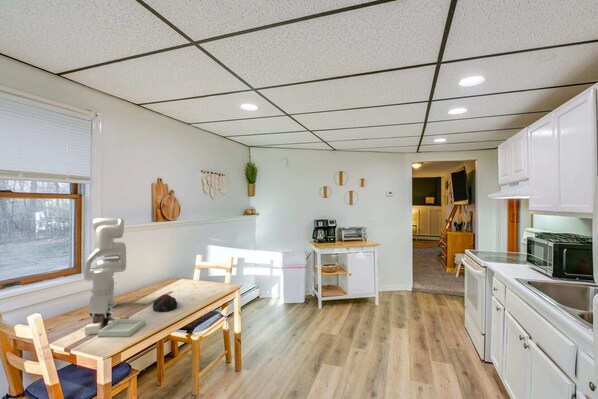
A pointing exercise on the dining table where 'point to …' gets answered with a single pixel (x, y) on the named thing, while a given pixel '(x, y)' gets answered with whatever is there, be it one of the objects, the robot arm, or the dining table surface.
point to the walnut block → (98, 319)
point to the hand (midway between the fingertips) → (100, 324)
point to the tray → (121, 327)
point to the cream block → (92, 328)
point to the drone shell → (164, 304)
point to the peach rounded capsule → (124, 317)
